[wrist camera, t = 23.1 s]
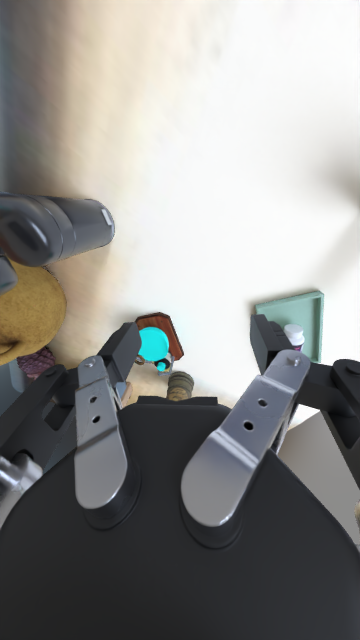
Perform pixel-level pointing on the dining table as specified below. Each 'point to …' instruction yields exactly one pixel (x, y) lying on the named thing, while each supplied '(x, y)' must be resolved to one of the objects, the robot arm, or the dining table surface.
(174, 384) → the container
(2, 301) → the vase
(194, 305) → the dining table surface
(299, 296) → the tray
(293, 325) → the pill bottle
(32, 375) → the pine cone
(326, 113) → the dining table surface
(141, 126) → the dining table surface
